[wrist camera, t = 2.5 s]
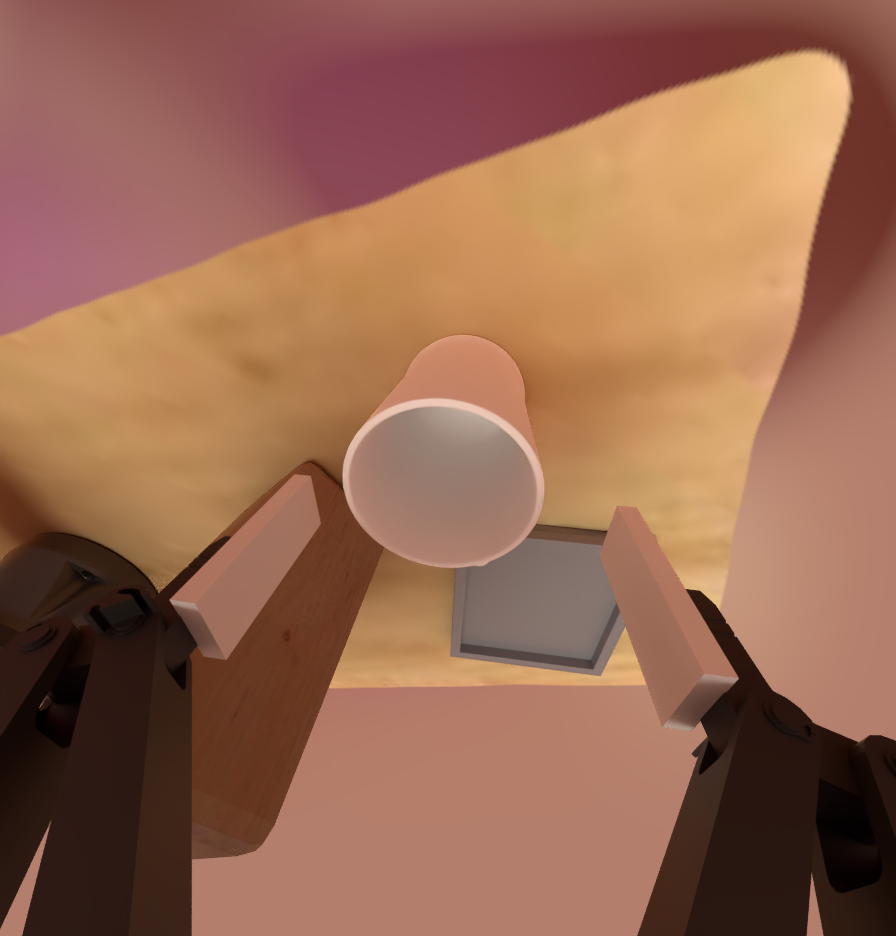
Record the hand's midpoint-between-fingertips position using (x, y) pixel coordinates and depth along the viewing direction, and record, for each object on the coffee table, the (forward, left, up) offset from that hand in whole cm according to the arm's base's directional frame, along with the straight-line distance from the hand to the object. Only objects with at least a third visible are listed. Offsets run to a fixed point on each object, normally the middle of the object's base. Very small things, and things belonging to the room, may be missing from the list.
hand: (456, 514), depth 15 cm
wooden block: (-13, -11, -11) cm, 21 cm away
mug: (0, 0, -11) cm, 11 cm away
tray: (+8, -18, -11) cm, 23 cm away
